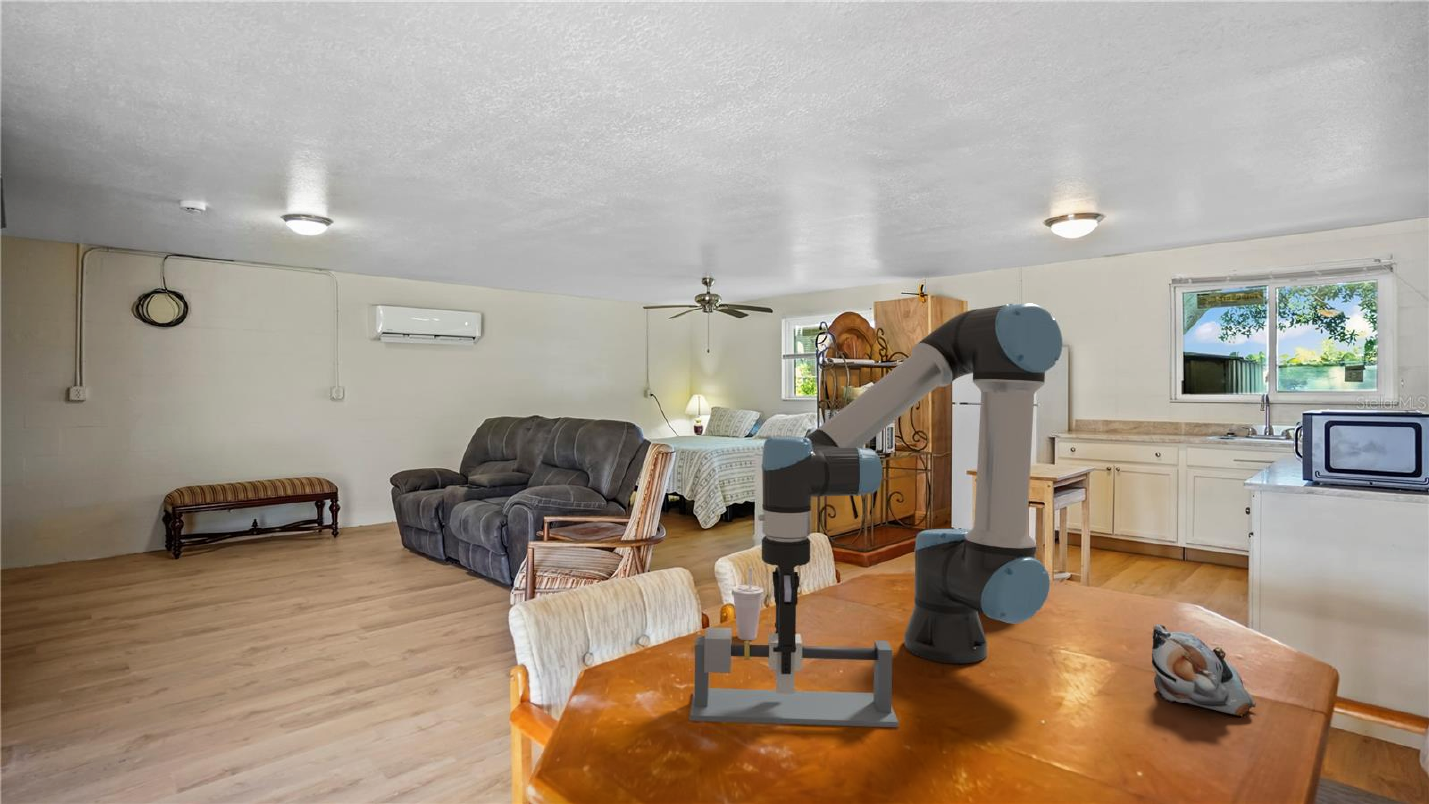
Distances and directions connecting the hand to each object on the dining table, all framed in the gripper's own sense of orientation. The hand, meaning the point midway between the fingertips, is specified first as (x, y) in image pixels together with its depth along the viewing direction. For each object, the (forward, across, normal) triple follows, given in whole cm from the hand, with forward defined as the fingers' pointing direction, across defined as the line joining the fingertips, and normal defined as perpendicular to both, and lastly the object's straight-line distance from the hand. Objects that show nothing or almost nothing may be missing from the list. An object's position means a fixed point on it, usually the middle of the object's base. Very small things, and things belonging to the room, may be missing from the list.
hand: (784, 685), depth 113 cm
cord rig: (+4, 0, +1) cm, 4 cm away
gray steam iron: (+4, -6, +67) cm, 67 cm away
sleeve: (-3, 0, 0) cm, 3 cm away
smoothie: (+4, -32, -6) cm, 33 cm away
